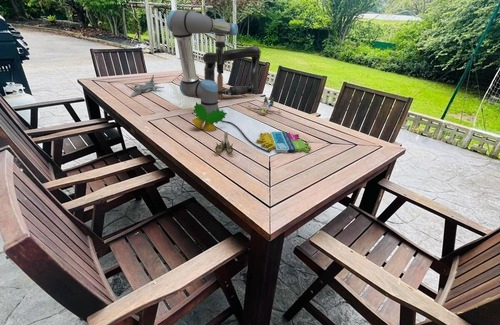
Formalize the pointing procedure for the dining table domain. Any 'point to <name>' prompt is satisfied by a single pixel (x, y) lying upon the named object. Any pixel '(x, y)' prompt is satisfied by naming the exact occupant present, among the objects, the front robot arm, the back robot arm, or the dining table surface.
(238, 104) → the dining table surface
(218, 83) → the bottle
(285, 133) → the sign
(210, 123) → the ornament
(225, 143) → the jawbone
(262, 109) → the toy
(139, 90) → the airplane
